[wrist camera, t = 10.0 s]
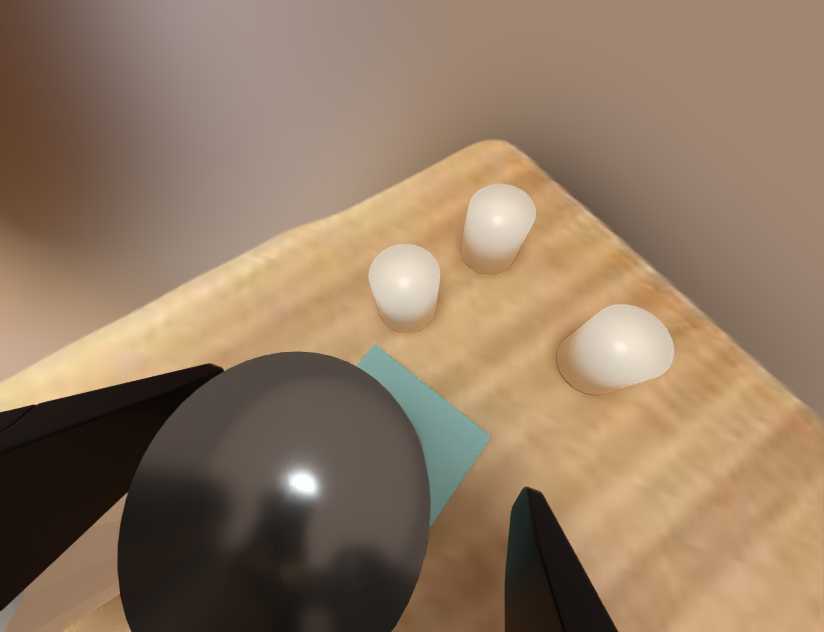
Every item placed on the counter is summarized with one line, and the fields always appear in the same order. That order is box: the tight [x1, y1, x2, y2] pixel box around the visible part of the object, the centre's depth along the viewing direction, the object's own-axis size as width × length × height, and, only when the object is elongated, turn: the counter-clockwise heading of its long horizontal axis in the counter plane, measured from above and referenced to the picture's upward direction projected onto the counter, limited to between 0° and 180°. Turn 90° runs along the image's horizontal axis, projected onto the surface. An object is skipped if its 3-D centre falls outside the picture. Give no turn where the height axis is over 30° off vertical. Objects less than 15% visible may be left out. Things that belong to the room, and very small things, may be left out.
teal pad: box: [356, 344, 491, 527], centre depth 17 cm, size 8×8×1 cm
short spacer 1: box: [369, 244, 440, 333], centre depth 18 cm, size 4×4×4 cm
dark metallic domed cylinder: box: [117, 352, 431, 632], centre depth 10 cm, size 4×4×13 cm
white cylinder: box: [0, 493, 128, 632], centre depth 13 cm, size 7×7×7 cm
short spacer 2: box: [557, 304, 674, 395], centre depth 16 cm, size 4×4×4 cm
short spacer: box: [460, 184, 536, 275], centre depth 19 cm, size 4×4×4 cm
